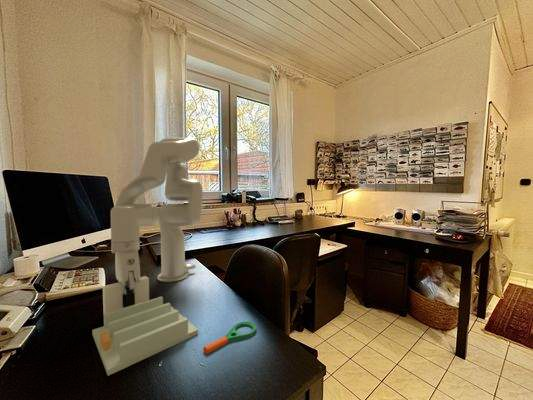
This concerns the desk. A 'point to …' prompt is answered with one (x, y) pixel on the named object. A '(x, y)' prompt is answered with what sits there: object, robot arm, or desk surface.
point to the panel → (115, 293)
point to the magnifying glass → (231, 337)
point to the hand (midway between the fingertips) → (127, 303)
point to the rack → (139, 333)
